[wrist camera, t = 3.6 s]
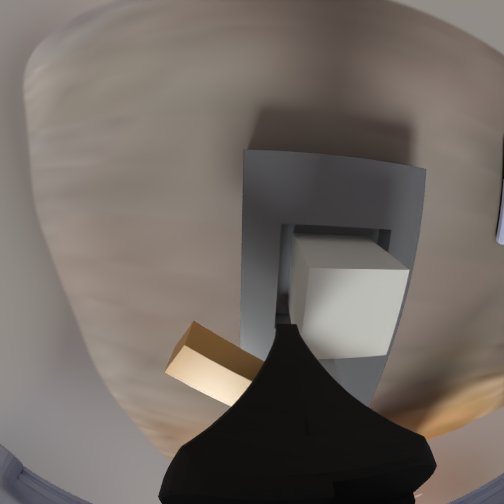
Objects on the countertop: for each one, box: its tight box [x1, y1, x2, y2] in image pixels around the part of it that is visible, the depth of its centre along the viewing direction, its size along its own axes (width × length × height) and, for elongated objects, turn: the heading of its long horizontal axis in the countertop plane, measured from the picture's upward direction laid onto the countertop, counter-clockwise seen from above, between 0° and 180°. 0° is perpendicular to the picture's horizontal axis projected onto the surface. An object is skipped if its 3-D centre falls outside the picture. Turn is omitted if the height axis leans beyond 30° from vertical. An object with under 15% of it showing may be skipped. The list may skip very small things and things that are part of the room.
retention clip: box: [165, 321, 265, 406], centre depth 10 cm, size 2×9×2 cm, turn 55°
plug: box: [287, 233, 409, 359], centre depth 12 cm, size 4×4×5 cm
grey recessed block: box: [240, 150, 426, 407], centre depth 14 cm, size 9×22×6 cm, turn 179°
